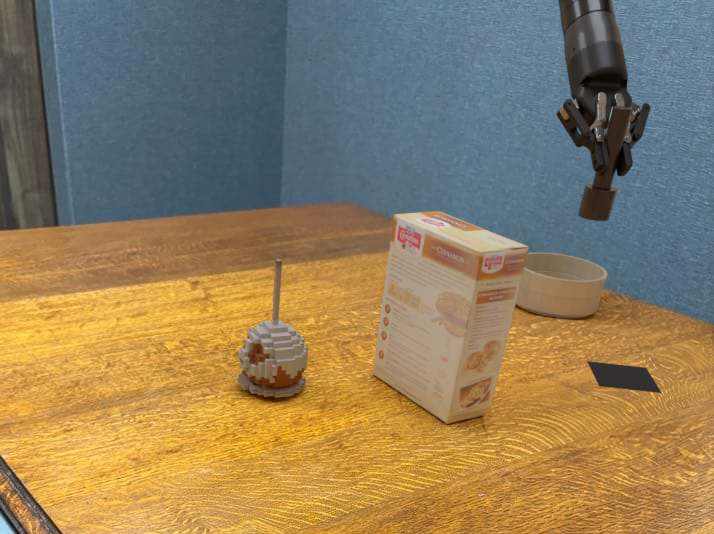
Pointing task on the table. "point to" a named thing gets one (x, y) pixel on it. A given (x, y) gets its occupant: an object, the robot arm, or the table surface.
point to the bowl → (560, 285)
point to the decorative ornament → (273, 354)
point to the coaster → (623, 377)
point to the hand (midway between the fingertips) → (614, 172)
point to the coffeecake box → (447, 312)
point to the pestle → (601, 192)
